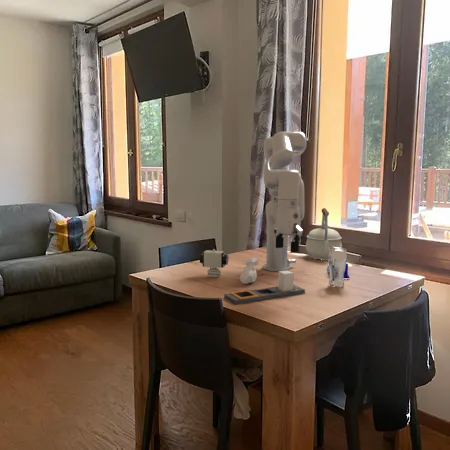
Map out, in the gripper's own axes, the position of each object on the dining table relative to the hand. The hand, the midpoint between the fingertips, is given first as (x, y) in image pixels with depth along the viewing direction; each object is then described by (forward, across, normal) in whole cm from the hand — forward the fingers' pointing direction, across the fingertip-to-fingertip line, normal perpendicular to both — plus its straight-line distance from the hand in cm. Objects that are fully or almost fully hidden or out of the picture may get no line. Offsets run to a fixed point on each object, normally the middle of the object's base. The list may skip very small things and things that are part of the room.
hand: (286, 249), depth 168 cm
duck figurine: (+17, +20, +5) cm, 26 cm away
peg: (+17, +1, 0) cm, 17 cm away
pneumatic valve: (+16, +34, +14) cm, 40 cm away
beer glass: (+17, 0, -24) cm, 30 cm away
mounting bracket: (+17, +14, -37) cm, 43 cm away
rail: (+17, +1, +9) cm, 19 cm away
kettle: (+16, +42, -52) cm, 69 cm away
